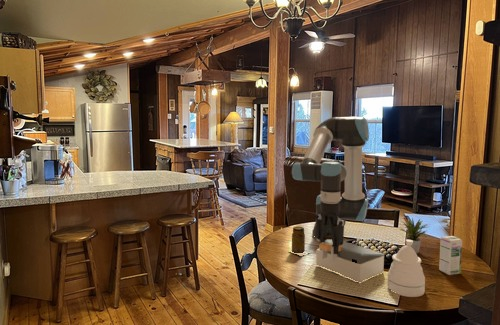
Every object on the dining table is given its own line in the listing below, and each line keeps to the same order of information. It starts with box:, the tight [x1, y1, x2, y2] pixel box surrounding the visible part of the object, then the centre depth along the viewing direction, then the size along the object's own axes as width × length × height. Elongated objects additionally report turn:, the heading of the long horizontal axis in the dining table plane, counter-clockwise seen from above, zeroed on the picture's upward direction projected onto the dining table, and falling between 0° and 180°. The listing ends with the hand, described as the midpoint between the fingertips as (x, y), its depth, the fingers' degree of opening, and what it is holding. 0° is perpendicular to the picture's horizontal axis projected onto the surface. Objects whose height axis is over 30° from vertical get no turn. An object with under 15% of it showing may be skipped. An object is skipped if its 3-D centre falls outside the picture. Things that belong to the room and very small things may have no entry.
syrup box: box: [438, 235, 463, 276], centre depth 152 cm, size 6×6×14 cm
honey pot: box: [386, 240, 426, 298], centre depth 137 cm, size 13×13×18 cm
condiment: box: [291, 226, 306, 253], centre depth 175 cm, size 7×8×12 cm
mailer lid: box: [316, 238, 385, 257], centre depth 152 cm, size 22×25×2 cm
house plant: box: [399, 217, 429, 254], centre depth 175 cm, size 14×14×16 cm
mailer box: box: [315, 248, 385, 282], centre depth 155 cm, size 22×16×8 cm
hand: (329, 259), depth 147 cm, fingers closed on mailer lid, 4 cm apart
